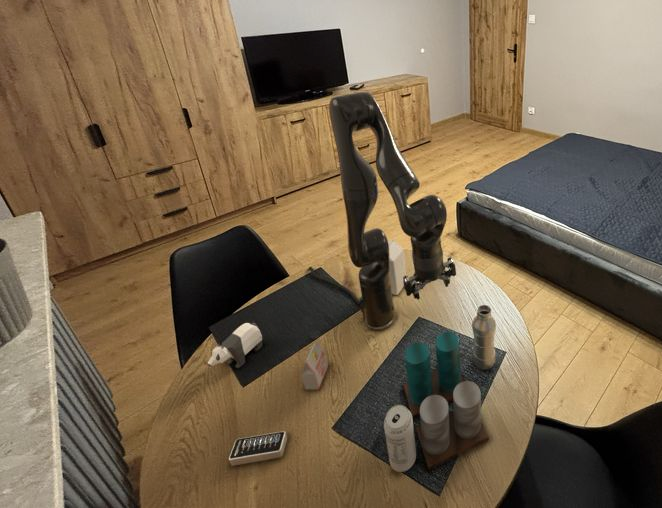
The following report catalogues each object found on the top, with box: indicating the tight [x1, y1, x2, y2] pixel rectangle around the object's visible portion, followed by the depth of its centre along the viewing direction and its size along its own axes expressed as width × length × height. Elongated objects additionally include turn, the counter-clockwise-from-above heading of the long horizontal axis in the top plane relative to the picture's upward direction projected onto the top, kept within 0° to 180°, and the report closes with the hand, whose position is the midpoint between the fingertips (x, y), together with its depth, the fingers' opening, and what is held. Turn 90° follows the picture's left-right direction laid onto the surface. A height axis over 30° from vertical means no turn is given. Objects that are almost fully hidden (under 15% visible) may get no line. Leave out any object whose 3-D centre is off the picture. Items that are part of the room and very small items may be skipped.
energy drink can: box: [383, 404, 417, 473], centre depth 80 cm, size 6×6×15 cm
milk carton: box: [388, 237, 407, 296], centre depth 130 cm, size 7×7×19 cm
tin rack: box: [416, 380, 490, 471], centre depth 85 cm, size 15×9×12 cm, turn 114°
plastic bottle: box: [471, 304, 497, 371], centre depth 101 cm, size 6×7×20 cm
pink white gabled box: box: [300, 340, 329, 391], centre depth 100 cm, size 4×7×10 cm, turn 178°
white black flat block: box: [228, 430, 288, 467], centre depth 85 cm, size 4×11×2 cm, turn 99°
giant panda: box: [207, 322, 263, 369], centre depth 105 cm, size 15×6×10 cm, turn 157°
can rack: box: [402, 331, 464, 419], centre depth 95 cm, size 15×9×16 cm, turn 114°
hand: (431, 290), depth 103 cm, fingers open, 8 cm apart
